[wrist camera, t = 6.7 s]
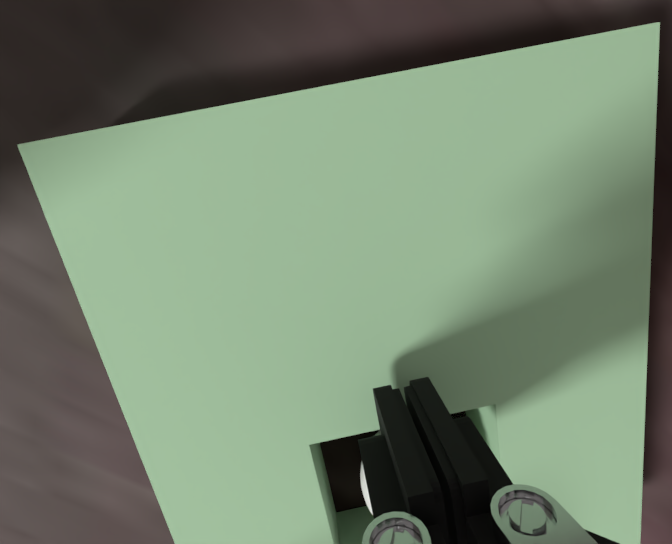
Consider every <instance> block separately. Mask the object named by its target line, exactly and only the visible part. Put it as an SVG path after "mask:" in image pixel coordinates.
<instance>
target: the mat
mask: <svg viewBox="0 0 672 544" xmlns="http://www.w3.org/2000/svg"><path fill="white" fill-rule="evenodd" d="M659 35H660V22H656V23H651V24H646V25H641V26H635V27H630V28H625V29H620V30H614V31H609V32H604V33H599V34H593V35H588V36H583V37H578V38H572V39H567V40H562V41H557V42H552V43H546V44H541V45H536V46H531V47H525V48H520V49H515V50H510V51H504V52H499V53H494V54H489V55H483V56H478V57H473V58H468V59H463V60H457V61H452V62H447V63H442V64H436V65H431V66H426V67H421V68H415V69H410V70H405V71H400V72H394V73H389V74H384V75H379V76H374V77H368V78H363V79H358V80H353V81H347V82H342V83H337V84H332V85H326V86H321V87H316V88H311V89H305V90H300V91H295V92H290V93H285V94H279V95H274V96H269V97H264V98H258V99H253V100H248V101H243V102H237V103H232V104H227V105H222V106H216V107H211V108H206V109H201V110H196V111H190V112H185V113H180V114H175V115H169V116H164V117H159V118H154V119H148V120H143V121H138V122H133V123H127V124H122V125H117V126H112V127H107V128H101V129H96V130H91V131H86V132H80V133H75V134H70V135H65V136H59V137H54V138H49V139H44V140H38V141H33V142H28V143H23V144H18V145H17V146H18V149H19V151H20V154H21V156H22V159H23V161H24V164H25V166H26V169H27V171H28V174H29V176H30V179H31V181H32V184H33V186H34V189H35V191H36V194H37V197H38V199H39V202H40V204H41V207H42V209H43V212H44V214H45V217H46V219H47V222H48V224H49V227H50V229H51V232H52V234H53V237H54V239H55V242H56V244H57V247H58V250H59V252H60V255H61V257H62V260H63V262H64V265H65V267H66V270H67V272H68V275H69V277H70V280H71V282H72V285H73V287H74V290H75V292H76V295H77V298H78V300H79V303H80V305H81V308H82V310H83V313H84V315H85V318H86V320H87V323H88V325H89V328H90V330H91V333H92V335H93V338H94V340H95V343H96V345H97V348H98V351H99V353H100V356H101V358H102V361H103V363H104V366H105V368H106V371H107V373H108V376H109V378H110V381H111V383H112V386H113V388H114V391H115V393H116V396H117V398H118V401H119V404H120V406H121V409H122V411H123V414H124V416H125V419H126V421H127V424H128V426H129V429H130V431H131V434H132V436H133V439H134V441H135V444H136V446H137V449H138V452H139V454H140V457H141V459H142V462H143V464H144V467H145V469H146V472H147V474H148V477H149V479H150V482H151V484H152V487H153V489H154V492H155V494H156V497H157V499H158V502H159V505H160V507H161V510H162V512H163V515H164V517H165V520H166V522H167V525H168V527H169V530H170V532H171V535H172V537H173V540H174V542H175V544H362V540H363V534H364V532H365V530H366V528H367V527H368V525H369V524H370V523H371V522H372V521H373V520H374V517H373V515H372V514H371V512H370V511H369V509H368V507H367V506H363V507H359V508H354V509H350V510H345V511H341V512H336V509H335V505H334V501H333V496H332V492H331V488H330V484H329V480H328V475H327V471H326V467H325V463H324V459H323V454H322V450H321V446H320V442H325V441H329V440H334V439H338V438H343V437H347V436H352V435H357V434H361V433H366V432H370V431H375V430H380V427H379V421H378V416H377V411H376V405H375V400H374V394H373V388H377V387H382V386H387V385H391V386H392V389H397V388H399V389H400V392H401V394H402V396H403V399H404V401H405V403H406V399H405V393H404V387H406V386H410V380H415V379H419V378H424V377H429V379H430V380H431V382H432V384H433V386H434V387H435V389H436V391H437V392H438V394H439V396H440V398H441V399H442V401H443V403H444V404H445V406H446V408H447V409H448V411H449V413H450V414H453V413H458V412H462V411H465V413H466V416H468V417H469V418H470V419H471V420H472V422H473V423H474V425H475V426H476V428H477V429H478V431H479V432H480V434H481V436H482V437H483V439H484V440H485V442H486V443H487V445H488V446H489V448H490V449H491V451H492V452H493V454H494V455H495V457H496V458H497V460H498V462H499V463H500V465H501V466H502V468H503V469H504V471H505V472H506V474H507V475H508V477H509V478H510V480H511V481H512V483H513V484H522V485H529V486H533V487H536V488H539V489H541V490H543V491H545V492H546V493H548V494H549V495H550V496H552V497H553V498H554V499H555V500H556V501H557V502H558V503H559V504H560V505H561V506H562V507H563V508H564V509H565V510H566V511H567V512H568V513H569V514H570V515H571V516H572V517H573V518H574V519H575V520H576V521H577V522H578V523H579V524H580V525H581V527H582V528H583V529H585V530H588V531H590V532H593V533H595V534H597V535H600V536H602V537H605V538H607V539H610V540H612V541H615V542H617V543H620V544H640V537H641V510H642V484H643V458H644V431H645V405H646V379H647V352H648V326H649V299H650V273H651V247H652V220H653V194H654V167H655V141H656V115H657V88H658V62H659Z"/></svg>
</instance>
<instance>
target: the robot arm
mask: <svg viewBox="0 0 672 544" xmlns="http://www.w3.org/2000/svg"><path fill="white" fill-rule="evenodd" d="M404 393H405V399H406V403H405V401H404V399H403V396H402V394H401V392H400V389H399V388H397V389H392V386H391V385H387V386H382V387H377V388H373V394H374V400H375V405H376V411H377V416H378V421H379V427H380V432H381V435H377V436H372V437H368V438H363V439H359V440H358V444H359V448H360V453H361V458H362V463H363V468H364V473H365V478H366V483H367V488H368V493H369V498H370V502H371V507H372V512H373V517H374V520H373V521H372V522H371V523H370V524H369V525H368V527H367V528H366V530H365V532H364V534H363V540H362V544H620V543H617V542H615V541H612V540H610V539H607V538H605V537H602V536H600V535H597V534H595V533H593V532H590V531H588V530H585V529H583V528H582V527H581V525H580V524H579V523H578V522H577V521H576V520H575V519H574V518H573V517H572V516H571V515H570V514H569V513H568V512H567V511H566V510H565V509H564V508H563V507H562V506H561V505H560V504H559V503H558V502H557V501H556V500H555V499H554V498H553V497H552V496H550V495H549V494H548V493H546V492H545V491H543V490H541V489H539V488H536V487H533V486H529V485H522V484H513V483H512V481H511V480H510V478H509V477H508V475H507V474H506V472H505V471H504V469H503V468H502V466H501V465H500V463H499V462H498V460H497V458H496V457H495V455H494V454H493V452H492V451H491V449H490V448H489V446H488V445H487V443H486V442H485V440H484V439H483V437H482V436H481V434H480V432H479V431H478V429H477V428H476V426H475V425H474V423H473V422H472V420H471V419H470V418H469V417H468V416H464V417H460V418H455V419H453V418H452V416H451V415H450V413H449V411H448V409H447V408H446V406H445V404H444V403H443V401H442V399H441V398H440V396H439V394H438V392H437V391H436V389H435V387H434V386H433V384H432V382H431V380H430V379H429V377H424V378H419V379H415V380H410V386H406V387H404Z"/></svg>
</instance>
